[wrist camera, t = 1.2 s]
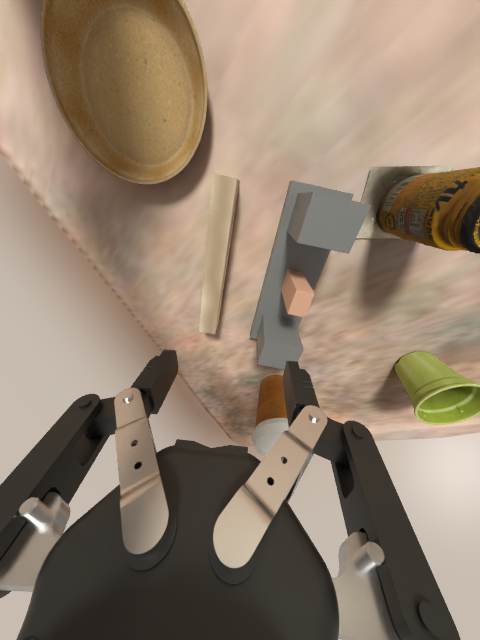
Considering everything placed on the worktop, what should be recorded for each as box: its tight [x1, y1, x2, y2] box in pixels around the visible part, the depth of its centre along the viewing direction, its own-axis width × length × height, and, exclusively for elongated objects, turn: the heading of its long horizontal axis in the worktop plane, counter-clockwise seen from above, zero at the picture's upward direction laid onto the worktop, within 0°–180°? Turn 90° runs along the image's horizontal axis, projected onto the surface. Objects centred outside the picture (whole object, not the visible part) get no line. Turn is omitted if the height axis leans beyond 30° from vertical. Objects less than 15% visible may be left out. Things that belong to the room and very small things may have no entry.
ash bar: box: [199, 173, 239, 334], centre depth 27 cm, size 2×20×4 cm, turn 170°
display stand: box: [250, 181, 371, 370], centre depth 25 cm, size 7×22×8 cm, turn 169°
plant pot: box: [394, 351, 480, 425], centre depth 32 cm, size 9×9×9 cm
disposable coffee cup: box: [252, 375, 289, 456], centre depth 36 cm, size 10×10×12 cm
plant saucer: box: [41, 0, 207, 185], centre depth 19 cm, size 15×15×3 cm
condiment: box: [356, 166, 480, 254], centre depth 18 cm, size 7×8×12 cm
